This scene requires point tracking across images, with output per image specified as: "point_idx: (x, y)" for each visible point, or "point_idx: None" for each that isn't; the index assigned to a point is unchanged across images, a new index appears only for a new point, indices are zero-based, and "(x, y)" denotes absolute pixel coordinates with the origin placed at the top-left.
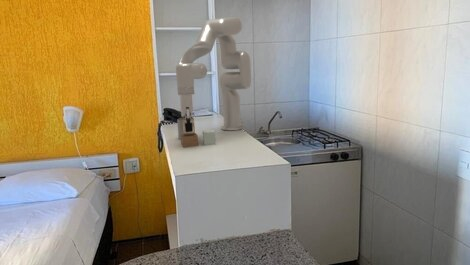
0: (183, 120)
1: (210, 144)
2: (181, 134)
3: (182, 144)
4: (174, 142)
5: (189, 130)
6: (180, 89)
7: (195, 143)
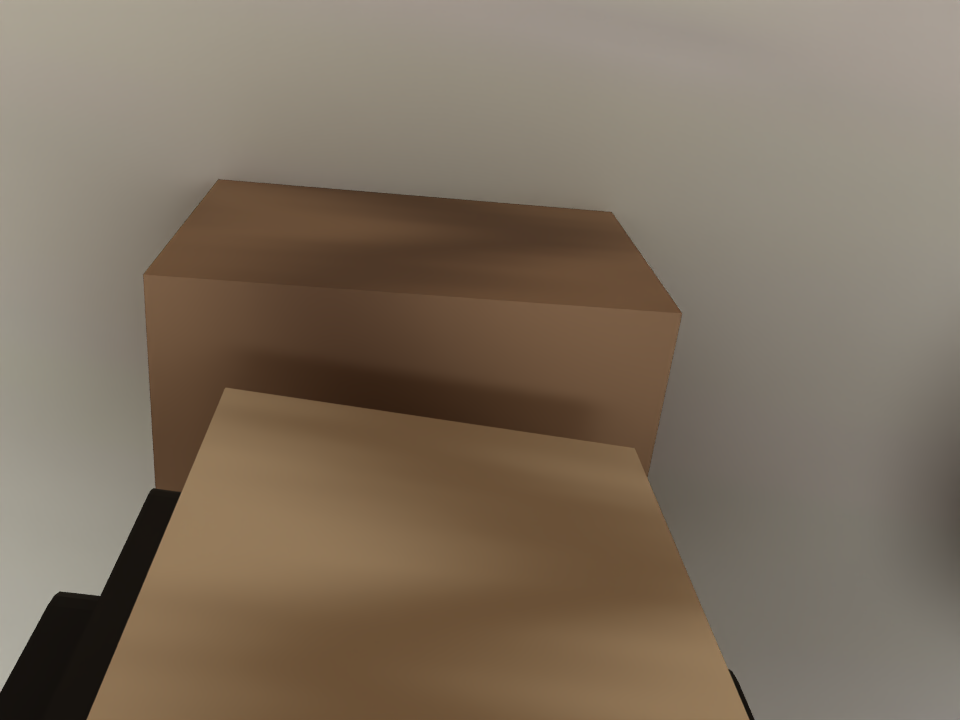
0: None
1: None
2: (637, 330)
3: (369, 204)
4: (947, 87)
5: None
6: None
7: None
